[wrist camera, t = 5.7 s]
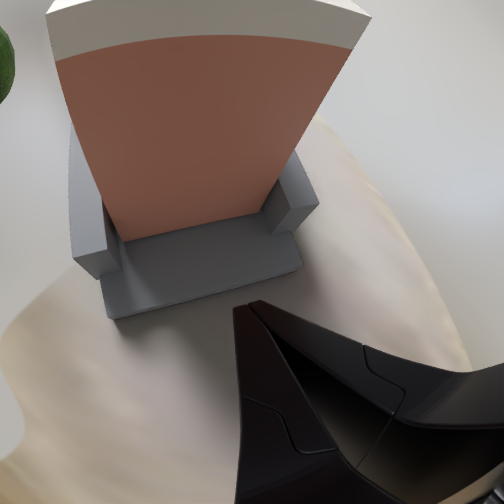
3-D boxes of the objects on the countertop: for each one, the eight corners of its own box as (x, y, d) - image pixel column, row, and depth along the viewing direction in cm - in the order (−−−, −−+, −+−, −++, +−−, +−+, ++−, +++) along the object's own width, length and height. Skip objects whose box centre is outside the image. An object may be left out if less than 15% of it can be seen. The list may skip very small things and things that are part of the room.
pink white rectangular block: (258, 212, 15) (371, 17, 5) (123, 242, 13) (45, 14, 2) (231, 139, 16) (290, -38, 6) (112, 160, 14) (83, -35, 4)
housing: (301, 269, 16) (376, 214, 9) (107, 321, 12) (45, 293, 6) (234, 103, 19) (258, 24, 12) (88, 127, 16) (68, 44, 9)
